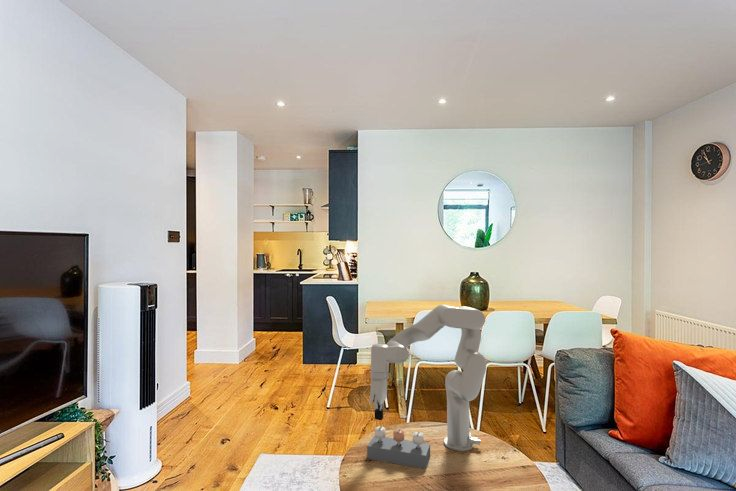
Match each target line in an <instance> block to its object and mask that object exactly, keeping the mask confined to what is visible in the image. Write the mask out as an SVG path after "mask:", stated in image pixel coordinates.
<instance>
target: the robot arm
mask: <svg viewBox="0 0 736 491" xmlns="http://www.w3.org/2000/svg"><path fill="white" fill-rule="evenodd" d="M485 323H486V316H485V313H484V312H483V311H481V310H480V309H477V308H474V307H470V306H464V305H463V306H462V305H461V306H459V307H455V306H451V305H447V304H439V305H437V306H436V307H434V308H433V309H432V310H431V311H429V312H428V313H427V314H426V315H425V316H424V317H422V318H421V319H420V320H418V321H417V322H416V323H414V324H413V325H410V326H409V327H406V328H404V329H403V330H401V331H400V332H398V333H397V334H395V335H394V336H393V337H392V338H390V340H388V342H386V343H374V344H372V345H371V350H370V379H371V381H370V382H371V383H370V391H369V392H370V393H369V404H370V405H372V404H373V409H374V420H377V421H382V420H383V419H384V402H385V401H386V399H387V397H388V380H389V374H390V372H389V371H390V368H389V367H390V364H391V363H392V364H403V363H406V362H407V361H408V360H409V357H410V354H409V350H408V348H407V347H409V346H410V345H413V344H414V343H417V342H425V341H428V340H430V339H431V338H433V337H434V336H435V335H436V334H437V333H438V332H439V331H440V330H442V329H443V328H444V327H445V326H446V327H448V328H453V329H460V330H461V335H460V341H459V344H458V346H457V349H456V352H455V353H456V354H455V357H454V362H455V364H456V366H457V367H459V369H461V370H463V371H461V370H456V369H454V370H451V371H449V372H448V373H447V374H446V375H445V380H444V382H445V383H444V386H445V391H446V392H445V393H446V410H447V411H446V412H447V413H446V415H447V416H446V418H447V419H446V422H447V424H446V428H447V429H446V430H447V432H446V437H445V438H444V439H443V444H444V446H445V447H446V448H448V449H449V450H452V451H456V452H468V451H470V450H472V449H473V448H474V445H479V446H481V439H479V438H478V436H477V437H475V436H472V433H471V431H470V430H471V429H470V426H471V425H470V422H471V421H470V402H471V401H474V400H475V399H476V398H477V397H478V395H479V393H480V391H481V388H482V384H483V382H484V378H485V374H486V371H487V361H486V358H485V356H484V355H483V354H481V353H480V352H479V349H480V344H481V343H482V342H481V340H482V332H481V331H482V330H481V329H482V327H483V326H485Z"/></svg>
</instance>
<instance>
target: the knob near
mask: <svg viewBox="0 0 736 491" xmlns="http://www.w3.org/2000/svg"><path fill="white" fill-rule="evenodd" d="M424 437H425V436H424V433H423V432H420V431H414V432H413V433H412V441H413V443H414V444H417V449H420V444H423V443H425V438H424Z"/></svg>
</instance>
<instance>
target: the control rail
mask: <svg viewBox="0 0 736 491" xmlns="http://www.w3.org/2000/svg"><path fill="white" fill-rule="evenodd" d="M366 453H367V454H366V459H367V460H374V461H380V462H383V463H384V462H385V463H391V464H397V465H401V466H409V467H413V468H418V469H424V470H425V469H427V467H428V464H429V461H430V458H431V443H427V442H424V443H423V444H420V449H417V444H414V443H413V440H407V439H404V440H403V441H400V446H397V441H395V440H394V439H393V437H388V436H385V438H382V443H379V438H376V437H375V434H374V435H373V436H372V439H371V440H370V441H369V442H368V444H367V445H366Z"/></svg>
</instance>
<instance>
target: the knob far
mask: <svg viewBox="0 0 736 491" xmlns="http://www.w3.org/2000/svg"><path fill="white" fill-rule="evenodd" d="M374 435H375V437H376V438H379V443H382V438H385V437H386V427H384V426H380V425H379V426H375V427H374Z"/></svg>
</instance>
